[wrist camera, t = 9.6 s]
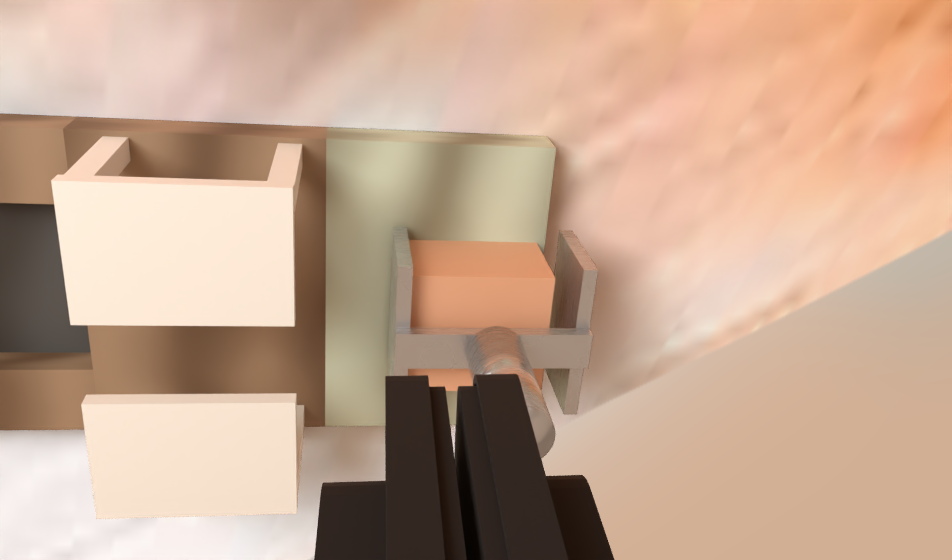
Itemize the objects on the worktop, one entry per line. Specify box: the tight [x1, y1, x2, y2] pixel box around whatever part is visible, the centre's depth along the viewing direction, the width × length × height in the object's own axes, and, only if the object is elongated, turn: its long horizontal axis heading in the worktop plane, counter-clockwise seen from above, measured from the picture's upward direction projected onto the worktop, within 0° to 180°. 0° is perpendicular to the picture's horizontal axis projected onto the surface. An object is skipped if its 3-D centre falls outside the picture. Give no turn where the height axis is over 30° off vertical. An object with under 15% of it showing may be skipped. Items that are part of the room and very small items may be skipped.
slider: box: [388, 226, 598, 458], centre depth 34 cm, size 8×7×11 cm
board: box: [0, 114, 556, 430], centre depth 39 cm, size 30×14×2 cm, turn 87°
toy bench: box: [51, 136, 304, 519], centre depth 35 cm, size 8×14×6 cm, turn 177°
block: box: [408, 240, 555, 391], centre depth 38 cm, size 6×6×4 cm
